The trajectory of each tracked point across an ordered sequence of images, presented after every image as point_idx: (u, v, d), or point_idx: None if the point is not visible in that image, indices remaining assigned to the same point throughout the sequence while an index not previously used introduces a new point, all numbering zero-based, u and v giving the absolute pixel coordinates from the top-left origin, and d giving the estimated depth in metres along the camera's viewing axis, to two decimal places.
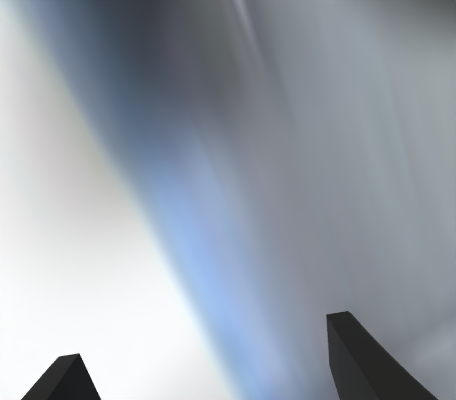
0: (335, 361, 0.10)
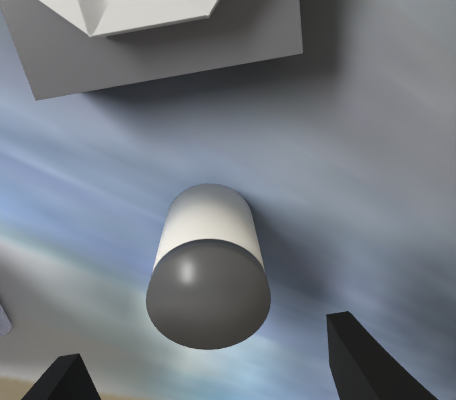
0: (335, 361, 0.10)
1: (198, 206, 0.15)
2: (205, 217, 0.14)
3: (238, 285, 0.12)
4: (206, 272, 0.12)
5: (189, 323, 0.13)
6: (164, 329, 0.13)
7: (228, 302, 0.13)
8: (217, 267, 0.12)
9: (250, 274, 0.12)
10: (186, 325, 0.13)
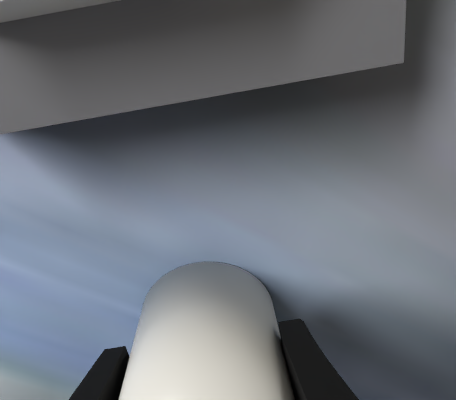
0: None
1: (188, 322, 0.09)
2: (199, 357, 0.08)
3: None
4: None
5: None
6: None
7: None
8: None
9: None
10: None
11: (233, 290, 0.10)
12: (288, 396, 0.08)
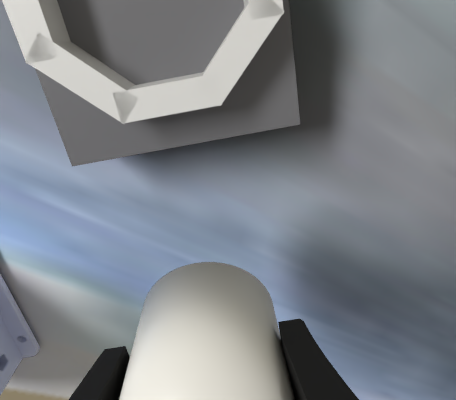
0: None
1: (188, 322, 0.09)
2: (200, 358, 0.08)
3: None
4: None
5: None
6: None
7: None
8: None
9: None
10: None
11: (233, 290, 0.10)
12: (288, 396, 0.08)
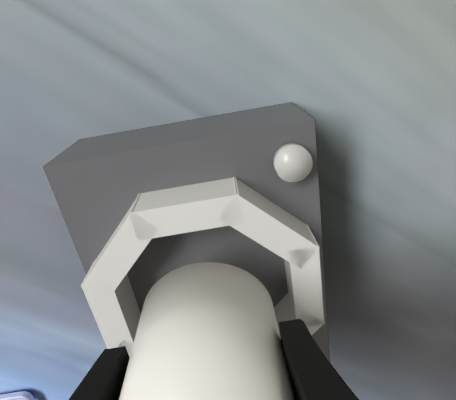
0: None
1: (188, 322, 0.09)
2: (199, 357, 0.08)
3: None
4: None
5: None
6: None
7: None
8: None
9: None
10: None
11: (233, 290, 0.10)
12: (288, 397, 0.08)
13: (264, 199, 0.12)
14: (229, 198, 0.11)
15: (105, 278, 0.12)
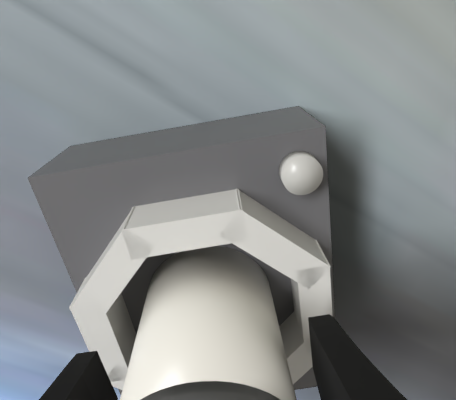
0: (316, 364, 0.10)
1: (191, 296, 0.10)
2: (202, 324, 0.09)
3: None
4: None
5: None
6: None
7: None
8: None
9: None
10: None
11: (232, 270, 0.11)
12: (282, 360, 0.09)
13: (270, 212, 0.11)
14: (231, 214, 0.10)
15: (96, 299, 0.11)
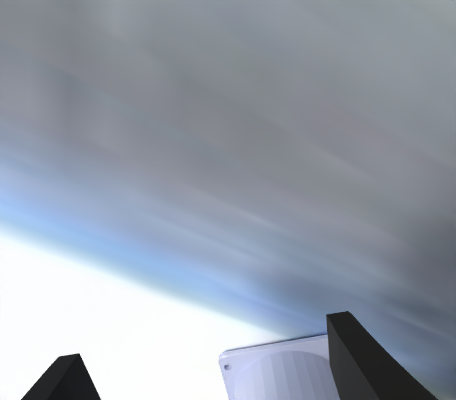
0: (335, 361, 0.10)
1: None
2: None
3: None
4: None
5: None
6: None
7: None
8: None
9: None
10: None
11: None
12: None
13: None
14: None
15: None
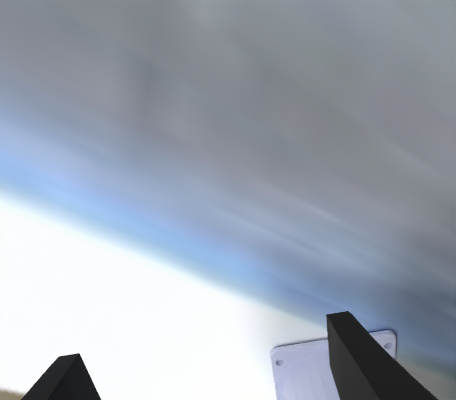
0: (335, 361, 0.10)
1: None
2: None
3: None
4: None
5: None
6: None
7: None
8: None
9: None
10: None
11: None
12: None
13: None
14: None
15: None
